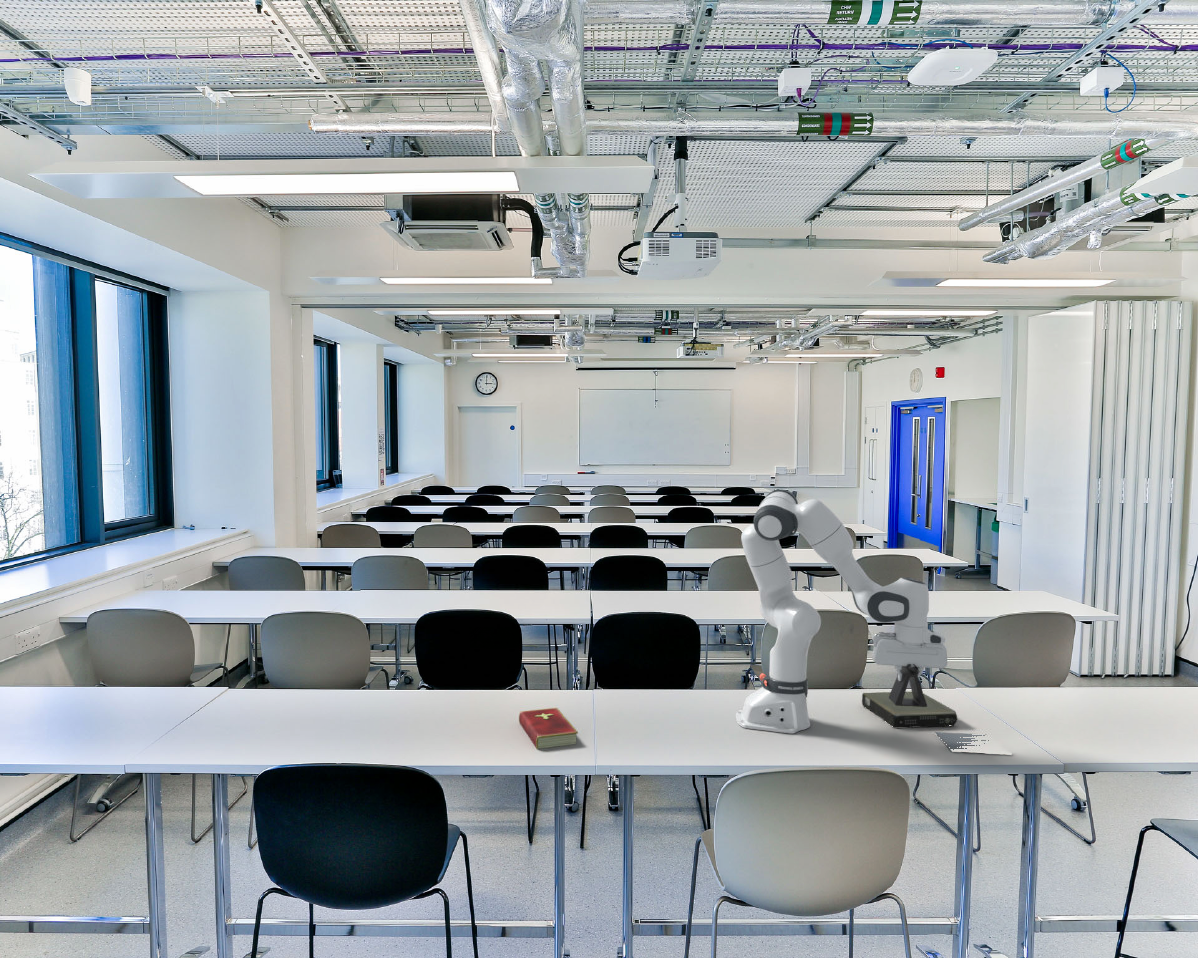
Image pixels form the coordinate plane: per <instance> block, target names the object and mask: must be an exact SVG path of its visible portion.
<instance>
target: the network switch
mask: <svg viewBox="0 0 1198 958" xmlns="http://www.w3.org/2000/svg"><path fill="white" fill-rule="evenodd" d="M890 693H891V691H889V692H888V691H886V692H885V691H883V692H878V691H877V692H863V693H862V695H861V698H862V699H861V704H862V706H863V708H865V707H866V708H865V709H867V710H868V711H871V712H872V713H873V712H874V713H873V714H875V715H877V716H878V717H879V718H881V719H882V720H883V721H884V722H885V721H886V722H887V723H886V722H885V723H886V724H888V725H889V724H890V726H891V727H892V726H893V727H907V728H914V727H913V726H921V727H944V726H949V725H953V726H955V725H956V724H957V722H958V715H957V712H956V710H954V709H952V708H950V707H949V706H947V705H945V704H943V703H942V702H940V701H938V700H936V699H934V698H933V697H931V696H929V695H927V694H925V693H924V692H923V694H924V697H925V700H926V703H927V707H914V706H896V705H895V704H894V703H893V702H892V701H891V700H890V699H889V698H888V697H889V695H890ZM904 698H908V699H913V694H912V691H906V692H905V695H904Z"/></svg>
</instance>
